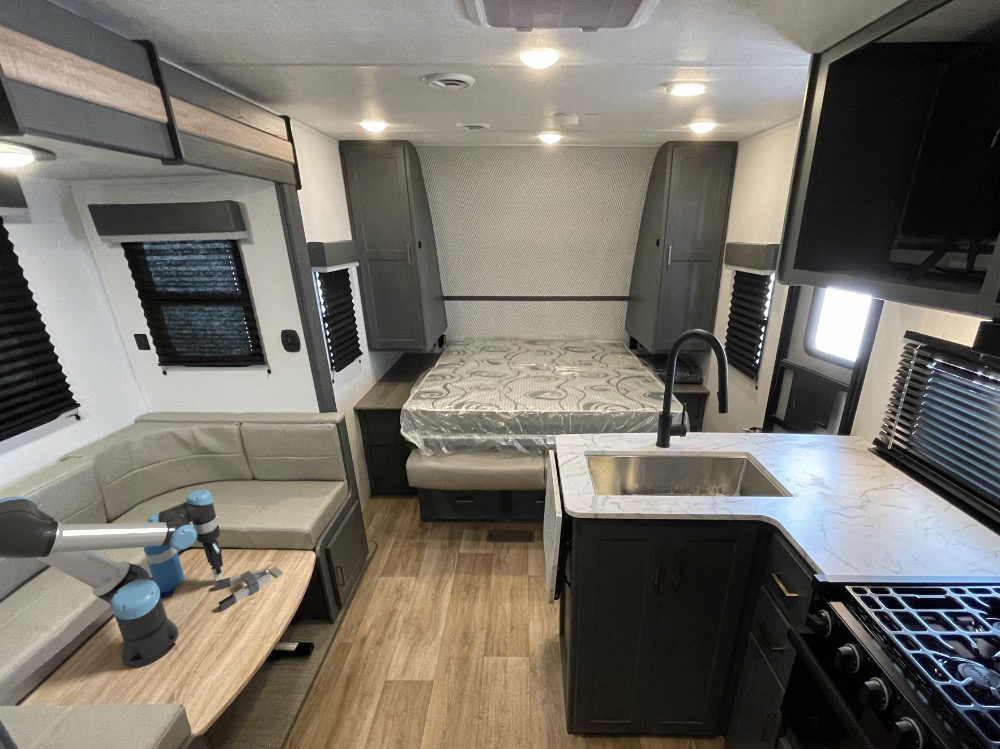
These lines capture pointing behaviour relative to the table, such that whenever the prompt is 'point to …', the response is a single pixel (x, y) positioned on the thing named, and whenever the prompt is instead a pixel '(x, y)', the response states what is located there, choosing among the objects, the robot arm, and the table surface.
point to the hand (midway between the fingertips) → (219, 579)
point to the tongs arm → (238, 579)
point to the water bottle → (164, 567)
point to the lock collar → (250, 581)
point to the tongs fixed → (247, 590)
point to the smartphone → (167, 595)
